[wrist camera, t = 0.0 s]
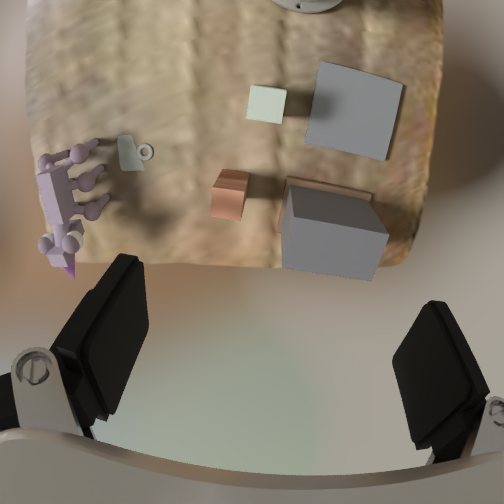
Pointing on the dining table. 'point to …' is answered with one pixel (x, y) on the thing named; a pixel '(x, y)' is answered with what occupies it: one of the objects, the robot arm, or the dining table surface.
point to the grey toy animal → (66, 204)
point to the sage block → (266, 103)
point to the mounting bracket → (131, 153)
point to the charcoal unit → (330, 230)
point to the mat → (353, 111)
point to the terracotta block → (229, 194)
